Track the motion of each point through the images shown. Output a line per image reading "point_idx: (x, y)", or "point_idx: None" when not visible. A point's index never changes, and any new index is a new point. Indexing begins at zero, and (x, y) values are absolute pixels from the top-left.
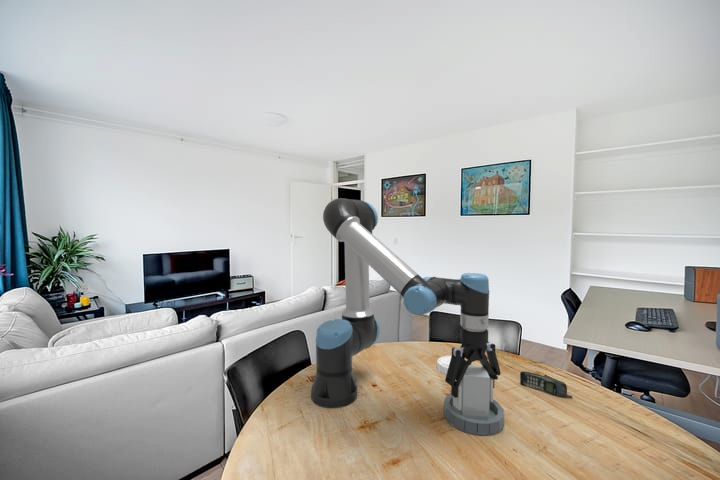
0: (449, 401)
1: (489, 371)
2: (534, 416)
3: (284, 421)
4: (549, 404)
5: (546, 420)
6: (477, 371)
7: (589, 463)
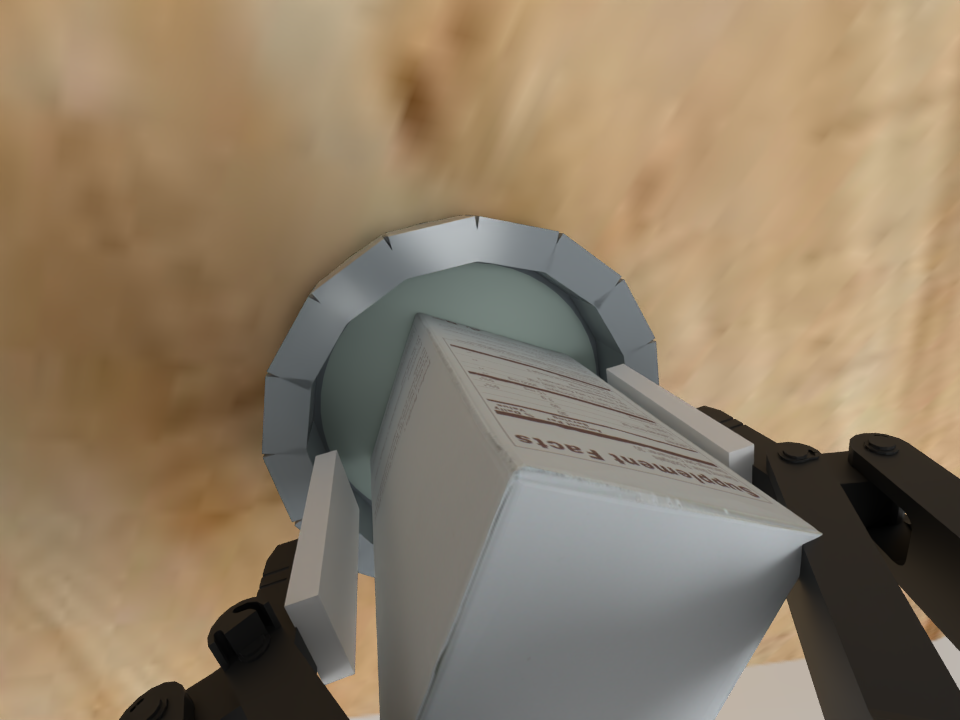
0: (321, 362)
1: (791, 612)
2: (768, 407)
3: None
4: (912, 319)
5: (788, 438)
6: (643, 685)
7: None
